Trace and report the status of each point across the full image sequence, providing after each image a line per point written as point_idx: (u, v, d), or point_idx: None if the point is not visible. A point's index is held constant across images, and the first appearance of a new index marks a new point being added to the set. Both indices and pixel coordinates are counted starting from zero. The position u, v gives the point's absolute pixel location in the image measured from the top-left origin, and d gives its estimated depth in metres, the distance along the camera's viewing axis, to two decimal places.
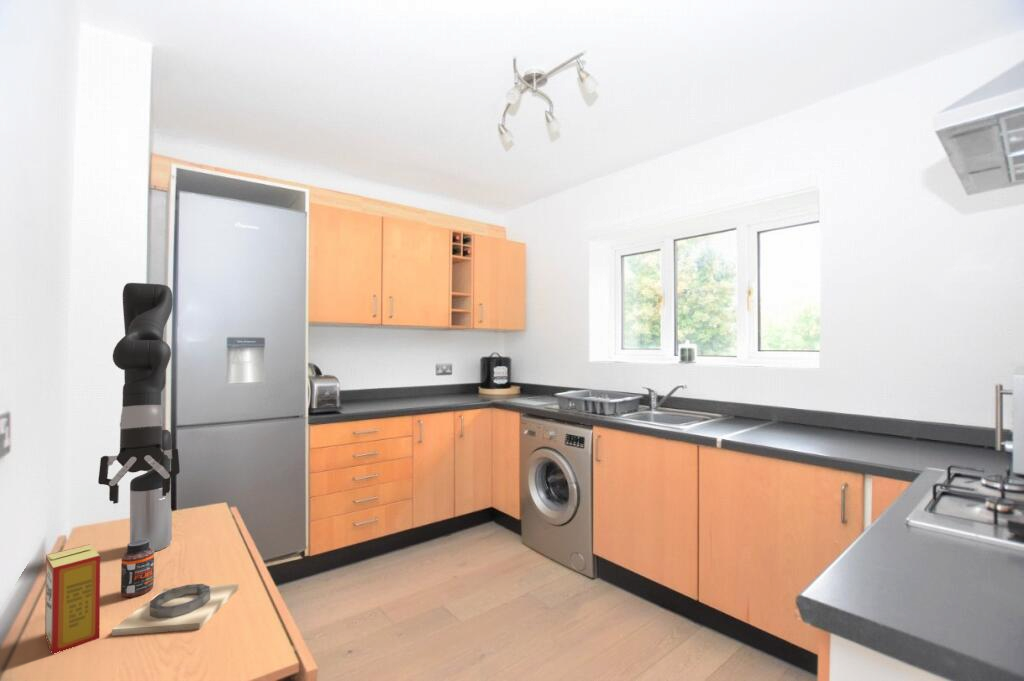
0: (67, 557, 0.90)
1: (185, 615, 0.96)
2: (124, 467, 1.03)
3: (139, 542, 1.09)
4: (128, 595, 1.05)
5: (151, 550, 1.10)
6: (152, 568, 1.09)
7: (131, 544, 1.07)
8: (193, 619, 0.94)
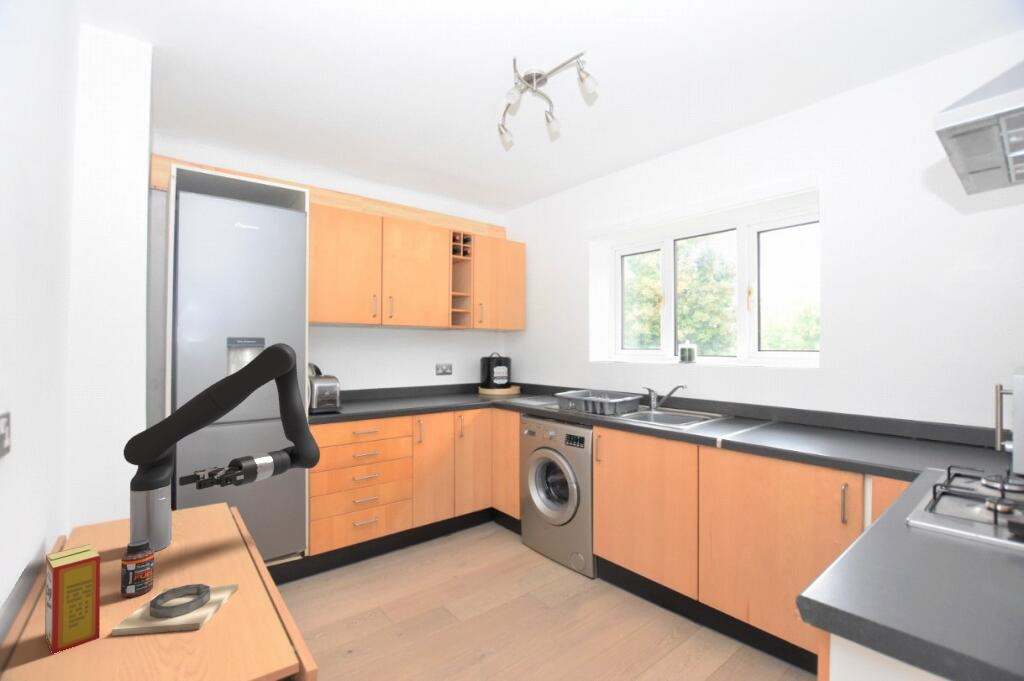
0: (67, 557, 0.90)
1: (185, 615, 0.96)
2: None
3: (139, 542, 1.09)
4: (128, 595, 1.05)
5: (151, 550, 1.10)
6: (152, 568, 1.09)
7: (131, 544, 1.07)
8: (193, 619, 0.94)
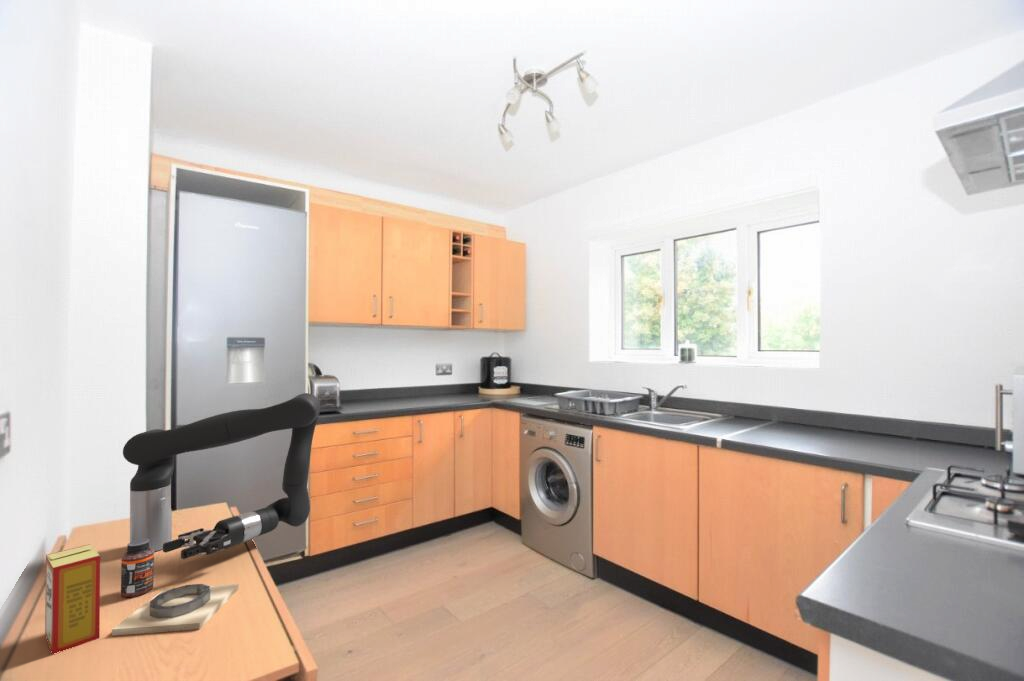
0: (67, 557, 0.90)
1: (185, 615, 0.96)
2: None
3: (139, 542, 1.09)
4: (128, 595, 1.05)
5: (151, 550, 1.10)
6: (152, 568, 1.09)
7: (131, 544, 1.07)
8: (193, 619, 0.94)
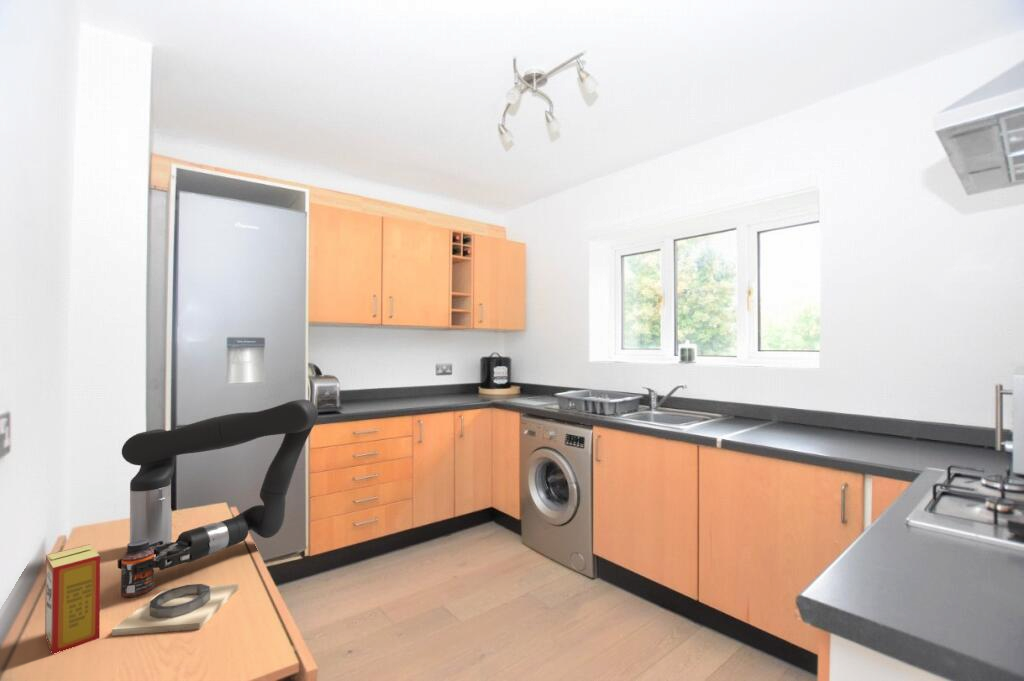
0: (67, 557, 0.90)
1: (185, 615, 0.96)
2: None
3: (139, 542, 1.09)
4: (128, 595, 1.05)
5: (151, 550, 1.10)
6: None
7: (131, 544, 1.07)
8: (193, 619, 0.94)
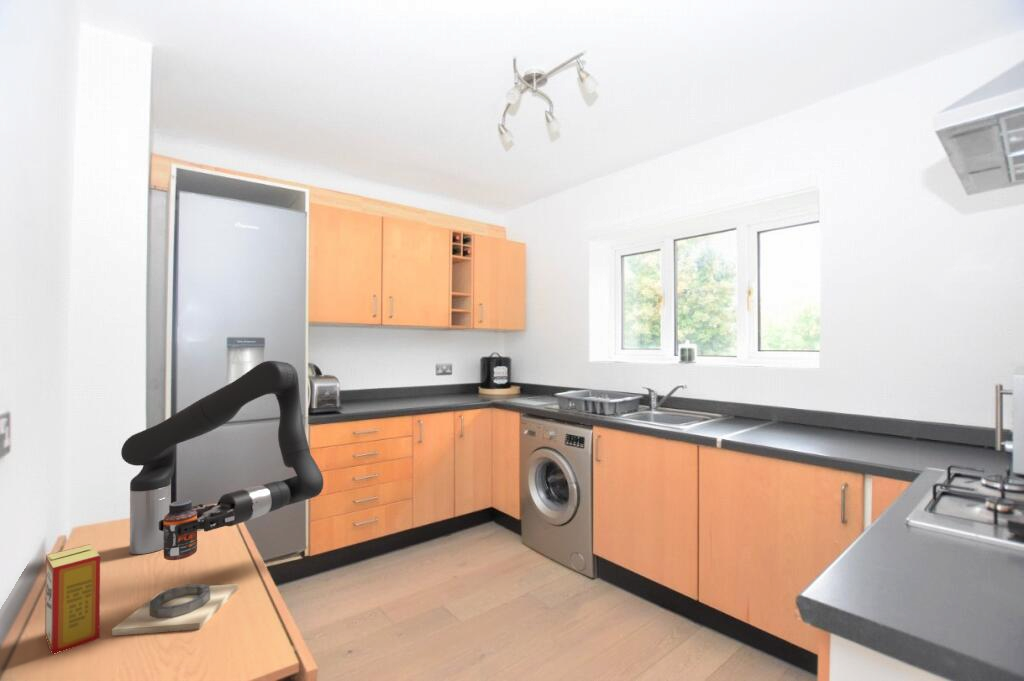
0: (67, 557, 0.90)
1: (185, 615, 0.96)
2: None
3: (181, 502, 1.01)
4: (172, 558, 0.98)
5: (194, 511, 1.02)
6: None
7: (173, 504, 1.00)
8: (193, 619, 0.94)
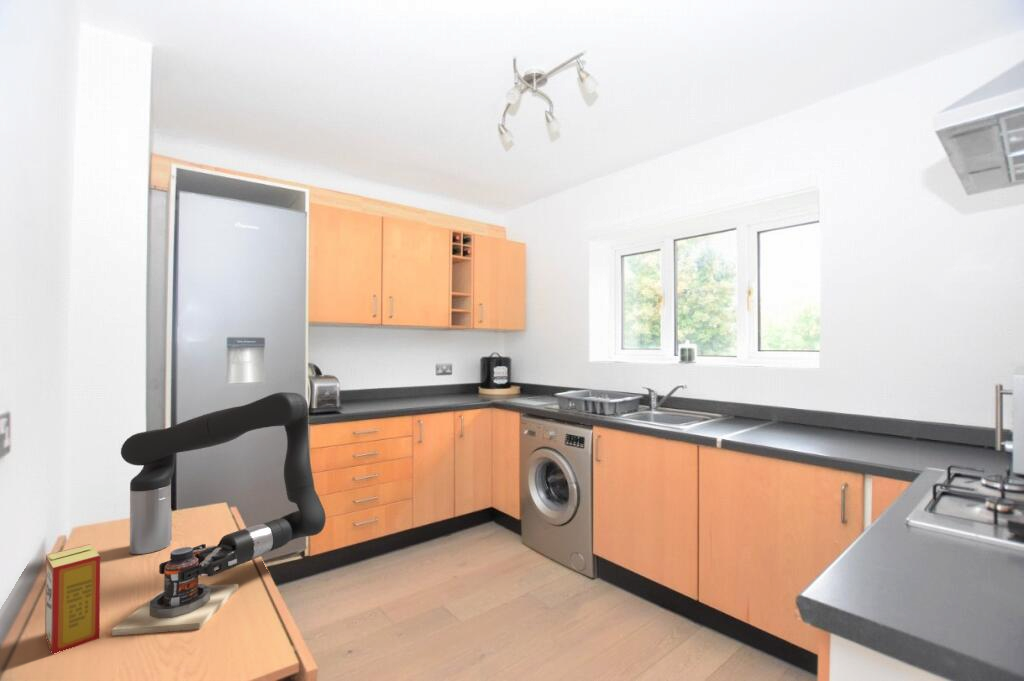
0: (67, 557, 0.90)
1: (185, 615, 0.96)
2: None
3: (182, 550, 1.00)
4: None
5: (195, 559, 1.01)
6: (196, 578, 1.01)
7: (174, 552, 0.99)
8: (193, 619, 0.94)
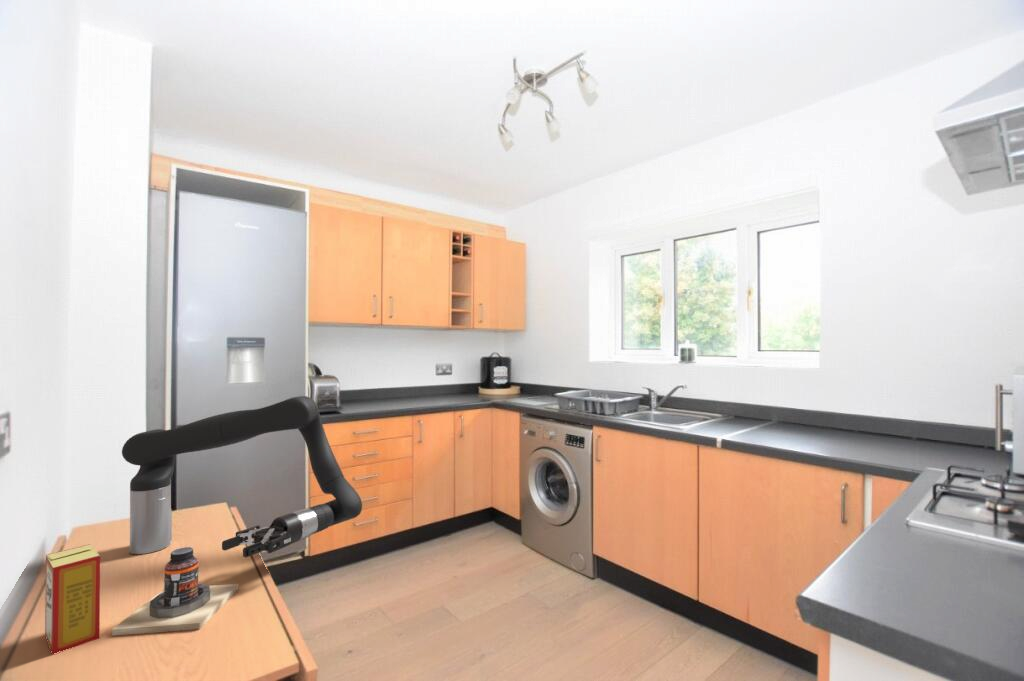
0: (67, 557, 0.90)
1: (185, 615, 0.96)
2: None
3: (182, 550, 1.00)
4: None
5: (195, 559, 1.01)
6: (197, 578, 1.01)
7: (175, 552, 0.99)
8: (193, 619, 0.94)
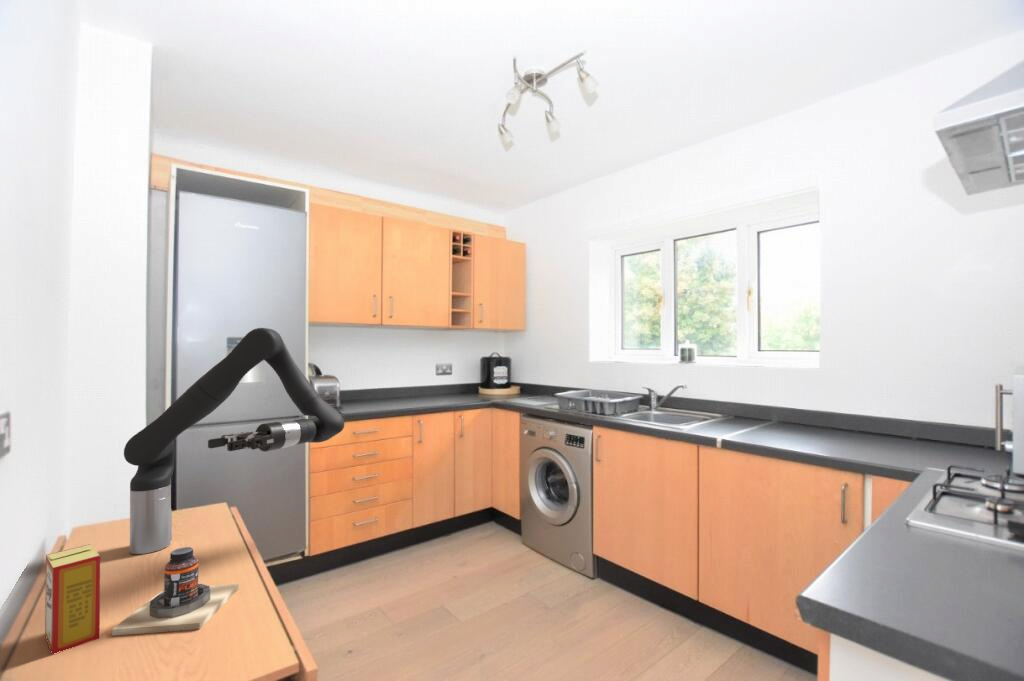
0: (67, 557, 0.90)
1: (185, 615, 0.96)
2: None
3: (182, 550, 1.00)
4: None
5: (195, 559, 1.01)
6: (196, 578, 1.01)
7: (175, 552, 0.99)
8: (193, 619, 0.94)
